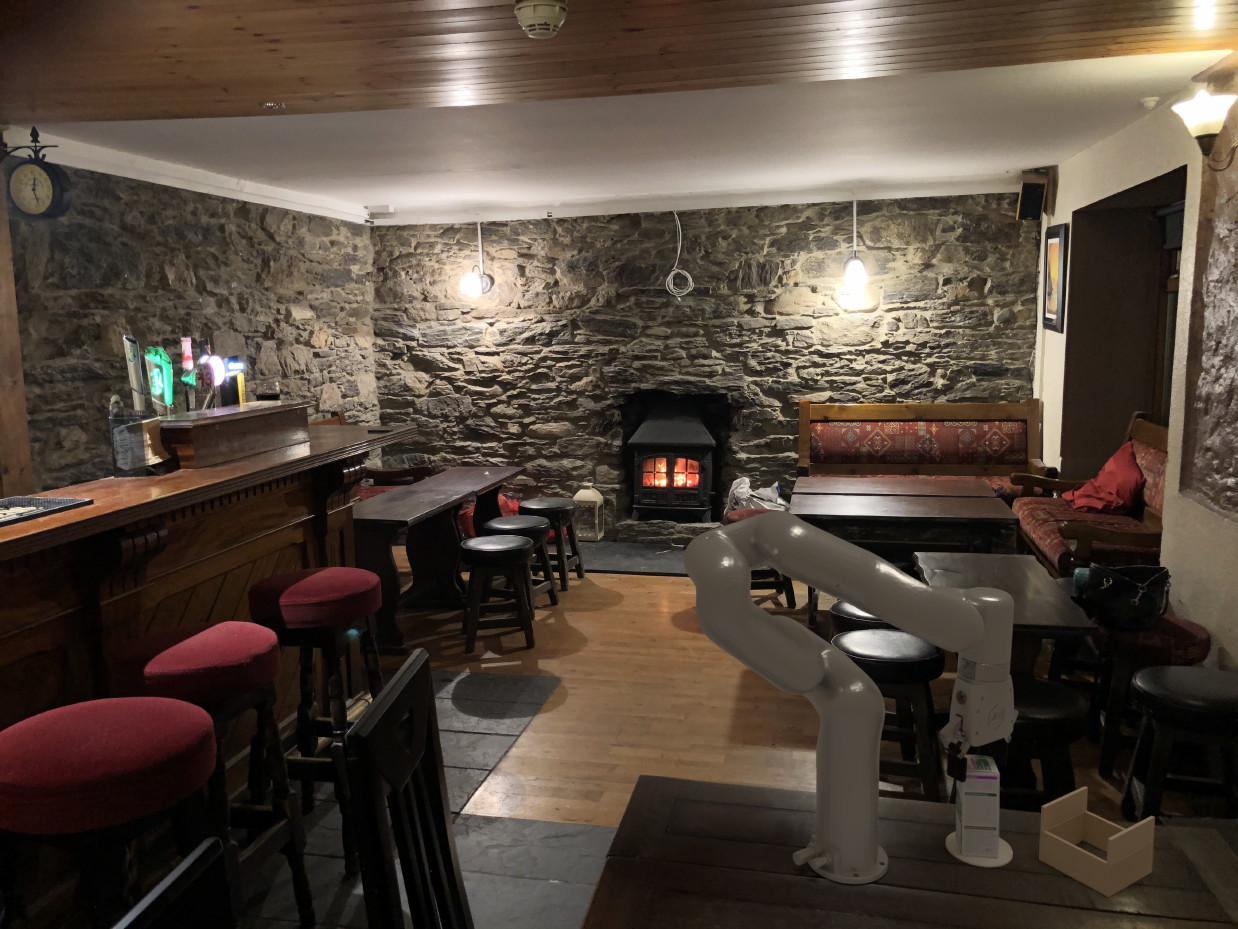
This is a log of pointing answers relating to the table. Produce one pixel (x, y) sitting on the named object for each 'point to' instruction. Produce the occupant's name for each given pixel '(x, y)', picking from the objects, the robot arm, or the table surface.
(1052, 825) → the wooden frame
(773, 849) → the table surface
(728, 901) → the table surface
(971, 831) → the syrup box
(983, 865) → the beer mat
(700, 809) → the table surface
